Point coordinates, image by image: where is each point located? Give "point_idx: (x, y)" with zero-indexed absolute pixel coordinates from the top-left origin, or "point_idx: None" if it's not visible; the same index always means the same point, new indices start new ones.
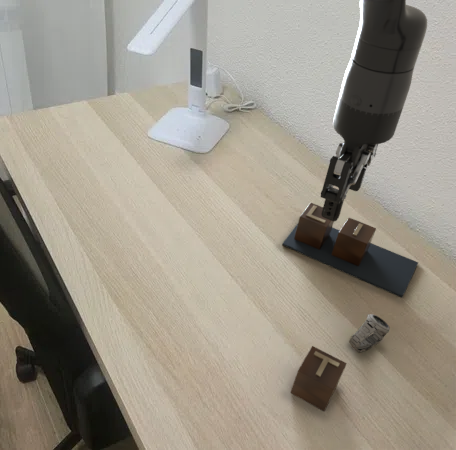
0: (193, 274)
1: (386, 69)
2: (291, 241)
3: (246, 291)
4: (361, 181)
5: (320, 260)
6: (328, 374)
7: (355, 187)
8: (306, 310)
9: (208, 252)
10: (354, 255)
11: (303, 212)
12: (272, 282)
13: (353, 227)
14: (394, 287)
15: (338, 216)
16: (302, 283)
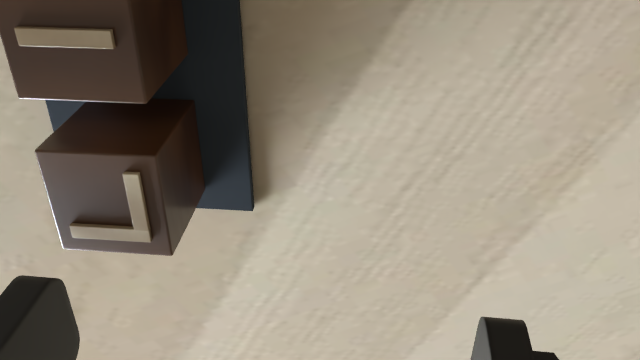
0: None
1: None
2: (223, 191)
3: (526, 222)
4: (1, 342)
5: (242, 77)
6: None
7: (50, 310)
8: (519, 30)
9: (421, 352)
10: None
11: (140, 252)
12: (443, 173)
13: (65, 59)
14: None
15: (510, 342)
16: (390, 89)
